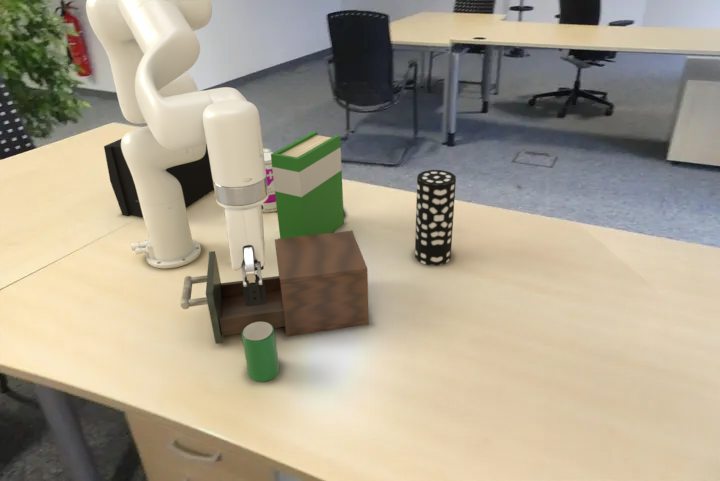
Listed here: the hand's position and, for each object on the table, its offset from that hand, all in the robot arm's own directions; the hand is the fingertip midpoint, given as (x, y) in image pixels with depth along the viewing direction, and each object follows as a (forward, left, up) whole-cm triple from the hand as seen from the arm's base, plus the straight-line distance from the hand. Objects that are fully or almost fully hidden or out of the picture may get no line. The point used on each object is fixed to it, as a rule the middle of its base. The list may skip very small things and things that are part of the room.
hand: (255, 286), depth 87 cm
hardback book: (+14, +47, -18) cm, 52 cm away
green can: (-1, 0, -18) cm, 18 cm away
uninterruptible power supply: (-21, +81, -18) cm, 85 cm away
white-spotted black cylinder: (+40, +30, -18) cm, 53 cm away
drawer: (-4, +16, -17) cm, 24 cm away
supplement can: (+4, +66, -18) cm, 68 cm away
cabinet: (+12, +16, -18) cm, 27 cm away
